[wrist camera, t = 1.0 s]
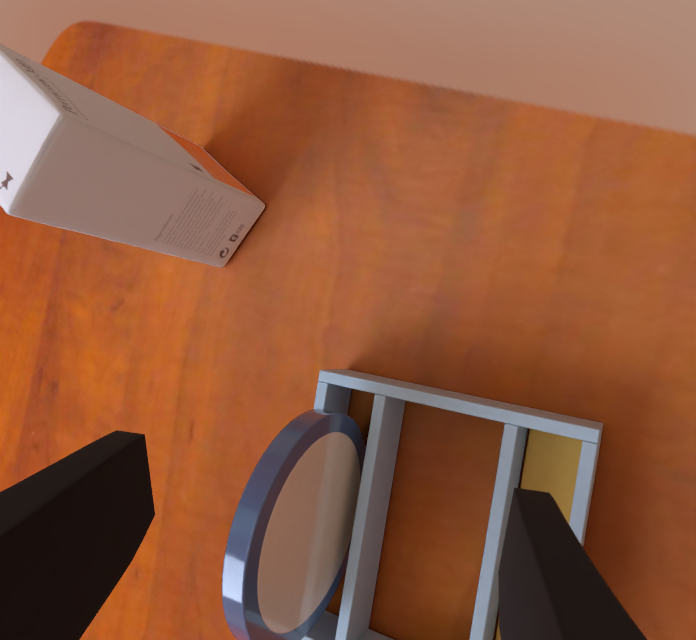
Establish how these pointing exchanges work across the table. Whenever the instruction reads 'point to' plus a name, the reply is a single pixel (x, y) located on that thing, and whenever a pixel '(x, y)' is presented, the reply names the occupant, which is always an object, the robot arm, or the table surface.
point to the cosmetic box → (112, 170)
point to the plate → (293, 528)
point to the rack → (538, 474)
